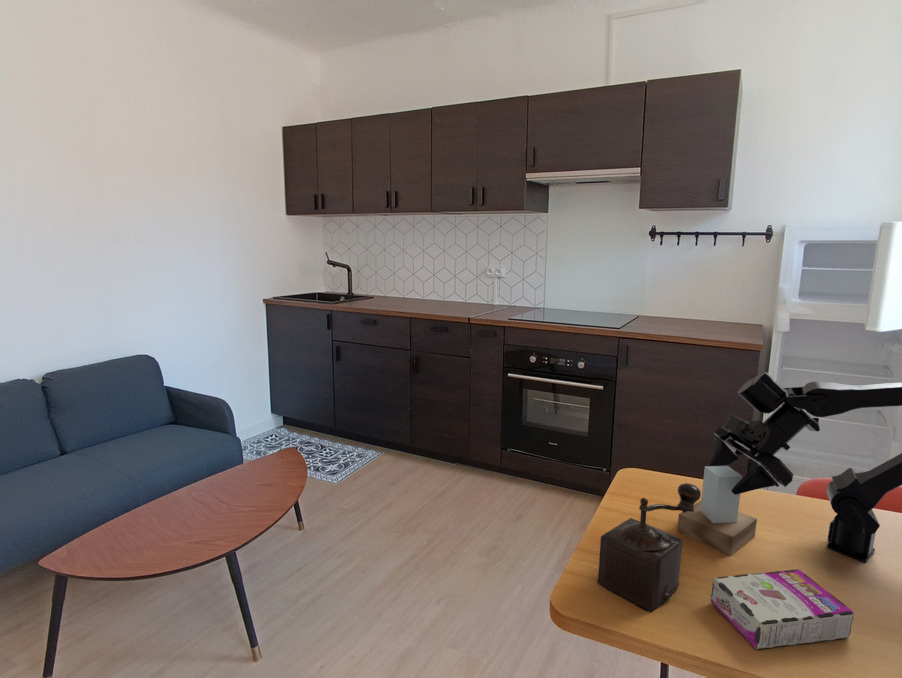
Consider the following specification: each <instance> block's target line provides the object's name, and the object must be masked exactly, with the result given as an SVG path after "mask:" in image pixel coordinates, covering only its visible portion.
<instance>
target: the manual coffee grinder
mask: <svg viewBox="0 0 902 678" xmlns="http://www.w3.org/2000/svg"><path fill="white" fill-rule="evenodd" d="M677 494H678V495H679V499H680V500H679V502H678V503H677V506H676V505H671V504H663V503H656V504H651V505H648V504H649V501H648V498H646V497H642V498H641V499H640V500H639V501H640V502H639V503H640V505H639V511H640V519H639V520H637V519H635V518H632V517H630V518H628V519H627V520H626V519H625V521H622V522H621V523H620V524H618V525H617V526H615V527H613V528H611V530H608V531H607V532H605V533H604V534H602V535H601V536H600V545H599V546H600V547H599V559H598V560H599V562H598V574H597V585H599V586H601V587H602V588H604V589H606V591H609V592H611V593H613V594H615V595H616V596H619V597H620V598H622V599H623V600H625V601H627V602H629V603H630V604H632V605H635V606H636V607H638V608H640V609H642V610H643V611H645V612H649V613H652V612H653V611H655V610H657V608H659V607H660V606H662V605H663V604H664V603H666V602H668V601H669V600H670V599H671V598H672V597H673V594H674V593H675V592H676V591H677V590H678V587H679V586H680V575H681V574H680V573H681V564H682V563H681V562H682V553H683V543H684V539H682V538H680V537H678V536H676V535H674V534H672V533H669V532H667V531H665V530H662V529H659V528H657V527H655V526H653V525H650V524H648V523H647V522H646V521H647V512H652V511H656V510H668V511H669V510H670V511H677V512H678V511H680V512H683V513H685V512H687V511H689V512H694V508H693V505H695V504H696V502H697V501H698V502H699V501H700V498H701V497H702V492H701V490H700V488H698V486H697V485H694V484H692V483H687V482H685V483H680V484H679V485H678V487H677Z"/></svg>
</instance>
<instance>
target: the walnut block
mask: <svg viewBox="0 0 902 678" xmlns="http://www.w3.org/2000/svg"><path fill="white" fill-rule="evenodd" d="M700 507H701V500H699V501H698V502H697V503H696V502H695V503H694V505H693V508H694V512H689V511H687V512H685V513H683V511H681V512H680V513H678V520H677V528H676V529H677V530H676V532H677V533H678V534H681V535H683V536H686V537H687V538H690V539H693V540H694V541H697V542H700V543H701V544H704V545H706V546H708V547H710V548H713V549H714V550H717V551H720V552H722V553H724V554H725V555H728V556H733V554H735V553H736V552H737V551H739V550H740V549H741V548H743V547H744V546H745V545H746V544H747V543H749V542H750V541H751V540H752V539H754V538H755V537H756V531H757V522H758V518H756V517H754V516H751V515H748V514H745V513H743V512H740V511H738V517H737V522H734V523H713V522H712V521H710V520H709V519H708V518H707V517H706V516H705V515H704V514H703V513H702V512H701V511H700Z"/></svg>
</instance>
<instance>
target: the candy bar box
mask: <svg viewBox="0 0 902 678" xmlns="http://www.w3.org/2000/svg"><path fill="white" fill-rule="evenodd" d="M710 603H711V604H712V605H713V606H714V607H715V608H716V609H717V610H718V611H719V612H720V613H721V614H722V615H723V617H725V618H726V619H727V621H729V623H730V624H732V626H733V627H734V628H735V629H736V630H737V631H738V632H739V633H740V635H742V637H744V638H745V640H747V642H749V644H750V645H751V646H752V647H753V648H754V649H755V650H761V649H762V650H763V649H769V648H778V647H784V646H785V647H786V646H795V645H803V644H809V643H816V642H817V643H818V642H826V641H827V642H828V641H833V640H842V639H849V638H850V636H851V633H852V624H853V619H854V615H855V612H854V611H853V609H851V608H850V607H849V606H847V605H846V604H845V603H843V602H842V601H841V600H840V599H838V598H837V597H836V596H834V595H833V594H831V592H829V591H828V590H826V589H825V588H824V587H823V586H821V585H820V584H818V583H817V582H816V581H815V580H813V579H812V578H811V577H810V576H808V575H807V574H806V573H804V571H802V570H800V569H799V568H797V569H787V570H777V571H768V572H767V571H766V572H759V573H758V572H757V573H749V574H748V573H747V574H737V575H729V576H728V575H726V576H725V575H724V576H717V577H713V579H712V589H711V594H710Z"/></svg>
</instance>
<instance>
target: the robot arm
mask: <svg viewBox="0 0 902 678" xmlns="http://www.w3.org/2000/svg"><path fill="white" fill-rule="evenodd" d="M737 394H738V395H739V396H740V398H741V397H742V399H743V400H744V401H746V403H748V404H749V405H750V406H751V407H752V408H753V409H754V410H755V411H756V412H757V413H759V414H762V413H763V414H764V415H766V414H767V415H768V414H771V413H772V414H771V415H769V416H768V417H767V418H765V420H764V421H763V422H762V421H760V420H752V421H751V422H748V421H746V420H744V419H742V418H740V417H738V416H735V415H734V414H730V415H729V417H728V418H727V420H726V422H725V424H724V426H719V427H718V428H717V429H716V430H715V431H714V432H713V434H714V435H715V437H714V440H715V441H716V450H715V452H714V454H713V456H712V459H710V462H709V464H708V466H729V465H731V464H732V463H735V462H736V461H738V460H739V459H740V458H739V456H742V455H743V456H744V455H745V456H746V457H748V458H749V459H751V465H750V468H749V471H748V472H747V473H746V474H745V475H744V476H742V479H741V480H740V481H739V482H738V483H737V484H736V485H735V486H734V488H733V489H732V490H731V491H732V493H733V494H735V495H737V494H740V495H741V494H744V493H747V492H752V491H755V490H759V489H764V488H769V487H776V488H778V487H780V485H781V486H783V487H784V488H787V486H788V485H789V484H792V482H793V480H794V473H793V472H792V471H791V470H790V469H789V467H788V466H787V465H786V464H785V463H784V462H783V461H782V460H781V459H780V458H779V457H776V456H775V455H776V454H777V453H778V452H780V451H781V450H782V449H783V450H784V451H788V450H789V449H791V446H790V445H789V444H788V443H790V442H791V441H792V440H793V439H794V438H795V437H796V436H797V435H799V433H801V432H802V431H803V430H804V429H805V428H806V429H807V430H808V431H810V432H817V433H818V432H820V431H821V428H820V424H819V420H820V419H819V418H826V417H831V416H836V415H842V414H844V413H848V412H850V411H854V410H858V409H867V408H885V407H886V408H887V407H902V381H901V382H888V383H874V384H858V385H855V384H854V385H853V384H845V383H838V382H832V381H831V382H827V381H810V382H808V383H805V385H803V386H792V387H784V388H783V387H782V386H781V385H780V384H778V383H777V382H776V381H775V380H774V379H773V378H772V376H771V375H770V374H769V373H768V372H767V371H763V372H762V373H761V374H759V375H757V376H755V377H753V378H750V379H749V380H747V381H746V382H745V383H744V384H743V385H742V386H741V387H740V388H739V389H738V390H737ZM804 410H805V411H804ZM809 414H810V415H811V416H810V415H809ZM831 479H832V481H830V482H829V483H828V485H827V487H826V493H827V494H826V495H827V497H828V500H829V503H830V506H831V509H832V510H833V512H834V513H836V515H835V516H834V517H833V519H832V520H831V521H830V523H829V526H828V535H827V539H826V540H827V542H828V544H826V548H827V549H829V550H832V551H834V552H837V553H840V554H843V555H845V556H848V557H850V558H853V559H856V560H858V561H861V562H864V563H866V562H868V561H869V559H871V557H872V556H873V554H874V553H875V552H876V549H875V548H874V544H875V539H876V533H877V531H878V529H879V528H880V526H881V525H880V523H879V521H878V519H877V517H876V515H875V513H874V511H873V509H874V508H876V507H877V506H878V504H879V503H880V502H881V500H882V499H883V498H884V497H885V495H886V494H887V493H889V492H892V491H894V490H895V489H897V488H900V487H901V486H902V452H901V453H900V454H898V455H896V456H894V457H891V458H890V459H888V460H886V461H885V462H883V463H881V464H879V465H877V466H875V467H873V468H871V469H870V470H867V471H861V472H856V471H855V470H854V469H853V468H852V467H848V468H847V469H846V470H844V471H843V472H841V474H838V475H835V476H831Z"/></svg>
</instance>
